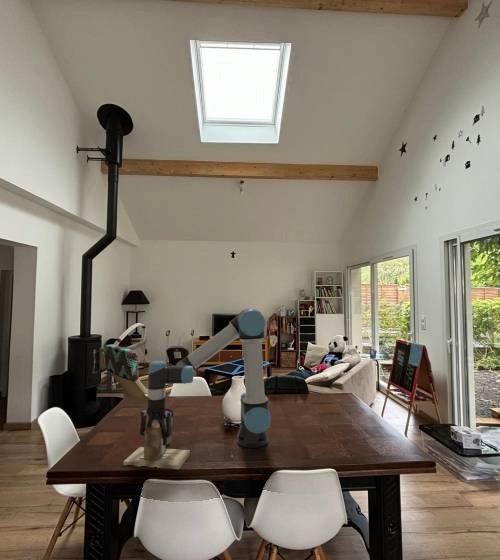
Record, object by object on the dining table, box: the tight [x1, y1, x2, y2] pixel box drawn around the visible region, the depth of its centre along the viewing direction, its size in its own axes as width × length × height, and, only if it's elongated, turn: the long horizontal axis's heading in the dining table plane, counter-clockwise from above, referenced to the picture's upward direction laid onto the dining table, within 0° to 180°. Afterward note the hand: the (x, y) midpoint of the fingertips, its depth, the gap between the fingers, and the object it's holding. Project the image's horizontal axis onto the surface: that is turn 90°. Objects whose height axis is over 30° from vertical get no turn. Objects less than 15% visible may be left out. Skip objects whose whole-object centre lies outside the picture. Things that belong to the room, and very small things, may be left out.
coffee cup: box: [155, 408, 174, 446], centre depth 157 cm, size 8×8×15 cm
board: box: [123, 446, 191, 470], centre depth 140 cm, size 24×14×2 cm, turn 82°
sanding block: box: [143, 421, 167, 460], centre depth 141 cm, size 6×9×12 cm, turn 172°
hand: (155, 452), depth 141 cm, fingers closed on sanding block, 6 cm apart
